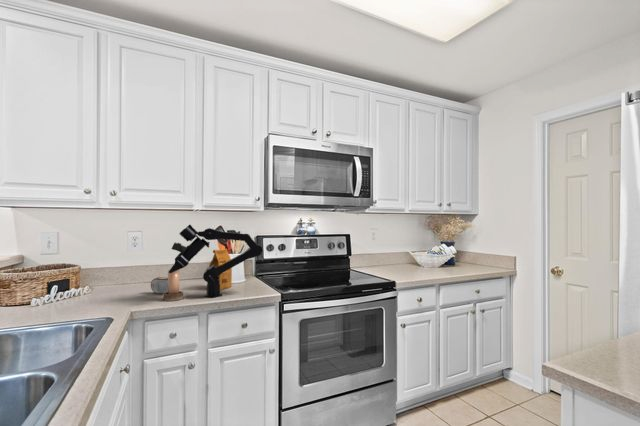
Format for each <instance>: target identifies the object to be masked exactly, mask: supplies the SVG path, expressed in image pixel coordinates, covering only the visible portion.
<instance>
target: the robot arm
mask: <svg viewBox="0 0 640 426" xmlns="http://www.w3.org/2000/svg"><path fill="white" fill-rule="evenodd" d="M179 235H180V237H181V238H183V239H184V240H185V241H186V242H191V243H190V244H188V245H186V246H185V245H183V244H182V243H180V242H174V243H173V245H172V246H171V248H170V249H171V250H173V251H177V252H179V254H177V256H176V257H175V258H174V264H173V265H172V266H171V268H170V269H169V270H170V271H169V273H172V272H175V271H177V270H179V271H180V270H181V269H184V268H185V267H187V266H188V265H190V263H189V262H191V261H192V259H194V257H195V256H197V254H199V253H200V251H202V250H203V249H204V248H205V247H207V248H208V249H209V248H210V241H212V240H230V241H238V242H239V241H241V242H244V243H245V244H246V245H247V246H248V248H247V249H246V250H245V251H244V252H243V253H239V254H238V255H237V256H235V257H233V258H231V260H229V261H227V262H225V263H223V264H221V265H220V266H216V267H215V266H214V265H212V266H211V267H209V266H208V267H206V269H205V271H204V272H203V276H202V278H203V280H204V282H206V294H204V297H206V298H212V299H213V298H216V297H217V298H218V297H222V296H223V294H221V290H220V284H219V282H220V280H219V277H218V276H219V275H221V274H222V273H223V272H225V271H227V270H228V269H230V268H232V269H233V268H234V267H236V266H237V265H240V264H241V263H243V262H245V261H247V260H250V259H253V258H257V257H259V256H261V255H262V253H263V247H262V246H261V245H259V244H257V243H256V242H255V241H254V240H253V238H252V237H251V236H250V234H248V233H238V232H228V231H221V230H218V229H214V228H210V227H209V228H206V229H204V230H202V231H201V230H199V231H197V229H195V228H194V227H193V225H191V224H188V226H186V227H185V228H183V229H182V230H181V231H180V232H179ZM201 238H202V239H201ZM206 240H207V241H206Z"/></svg>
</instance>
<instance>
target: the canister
mask: <svg viewBox="0 0 640 426" xmlns="http://www.w3.org/2000/svg"><path fill="white" fill-rule="evenodd" d="M169 271H170V269H168V271H167V278H168V295H173V294H179V291H180V269H179V270H177V271H175V272H172V273H169Z"/></svg>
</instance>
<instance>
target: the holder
mask: <svg viewBox="0 0 640 426" xmlns="http://www.w3.org/2000/svg"><path fill="white" fill-rule="evenodd" d="M183 299H184V291H181V290H179V294H173V295H168V292H166V293H164V294H163V299H162V300H163V301H164V302H178V301H181V300H183Z"/></svg>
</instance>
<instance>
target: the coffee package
mask: <svg viewBox="0 0 640 426" xmlns="http://www.w3.org/2000/svg"><path fill="white" fill-rule="evenodd" d="M212 253H213V254H214V255H213V257H212V260H211V261H210V263H209V266H208V268H209V267H211V266H212V265H214V266H215V267H216V266H220V265H221V264H223V263H225V262H227V261H229V260H231V259H232V258H231V256H230V255H229V254H230V253H229V251H228V249H227V248H223V249H213V250H212ZM232 269H233V267H232V268H230V269H228V270H227V271H225V272H223V273H222V274H221V275H219V276H218V277H219V280H220V282H219V284H220V291H223V290H227V289H229V288H231V287H232V285H233V284H232V282H233V281H232V278H233V277H232V276H233V275H232V274H233V272H232V271H233V270H232Z"/></svg>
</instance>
